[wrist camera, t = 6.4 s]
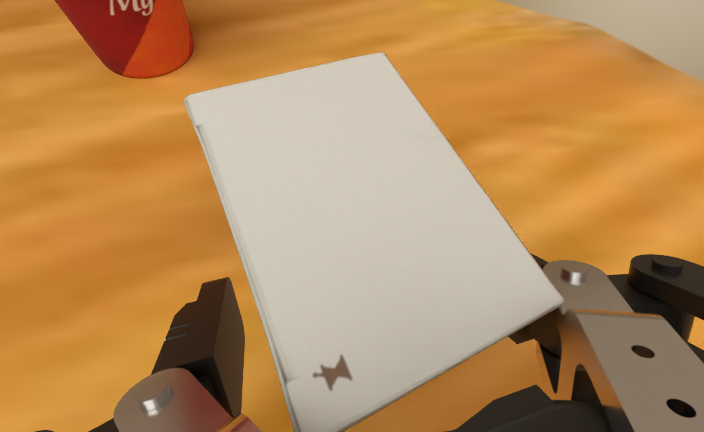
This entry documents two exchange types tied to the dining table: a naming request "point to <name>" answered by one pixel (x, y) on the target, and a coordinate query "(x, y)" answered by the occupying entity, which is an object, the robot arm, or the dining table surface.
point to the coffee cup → (134, 34)
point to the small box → (361, 237)
